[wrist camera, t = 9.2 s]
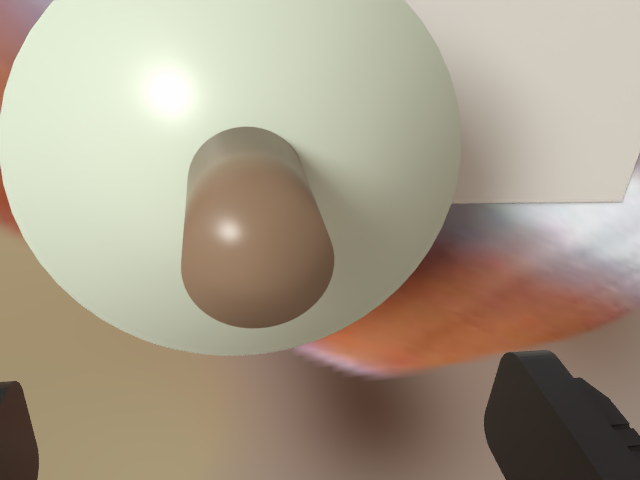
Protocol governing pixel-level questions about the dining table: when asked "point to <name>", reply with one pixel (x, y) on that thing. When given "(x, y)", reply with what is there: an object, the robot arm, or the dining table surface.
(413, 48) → the lid
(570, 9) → the mat
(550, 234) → the dining table surface
